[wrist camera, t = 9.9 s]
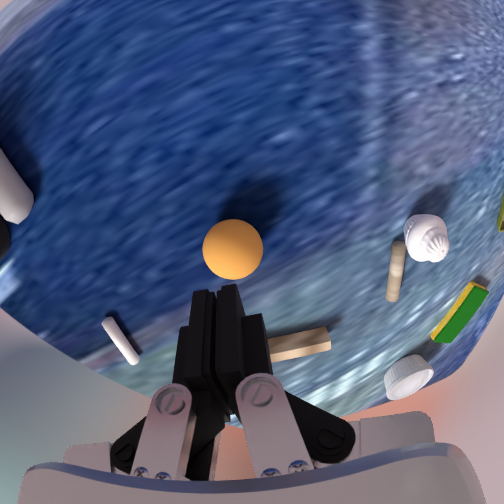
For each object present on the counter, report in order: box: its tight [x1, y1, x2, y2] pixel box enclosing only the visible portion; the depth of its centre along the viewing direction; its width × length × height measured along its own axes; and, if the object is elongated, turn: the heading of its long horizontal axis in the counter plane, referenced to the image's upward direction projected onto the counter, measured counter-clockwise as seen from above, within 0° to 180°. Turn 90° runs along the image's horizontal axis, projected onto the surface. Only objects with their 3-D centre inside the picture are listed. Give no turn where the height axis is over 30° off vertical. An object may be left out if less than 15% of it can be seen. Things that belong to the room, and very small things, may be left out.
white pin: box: [102, 317, 140, 365], centre depth 37 cm, size 2×2×9 cm
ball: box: [203, 219, 263, 279], centre depth 28 cm, size 6×6×6 cm
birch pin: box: [386, 240, 406, 302], centre depth 34 cm, size 2×2×9 cm
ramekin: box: [384, 354, 434, 400], centre depth 48 cm, size 11×11×5 cm
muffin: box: [404, 214, 449, 262], centre depth 29 cm, size 6×6×7 cm
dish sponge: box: [430, 281, 489, 343], centre depth 42 cm, size 7×14×2 cm, turn 161°
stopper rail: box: [268, 326, 331, 363], centre depth 39 cm, size 18×2×3 cm, turn 101°
